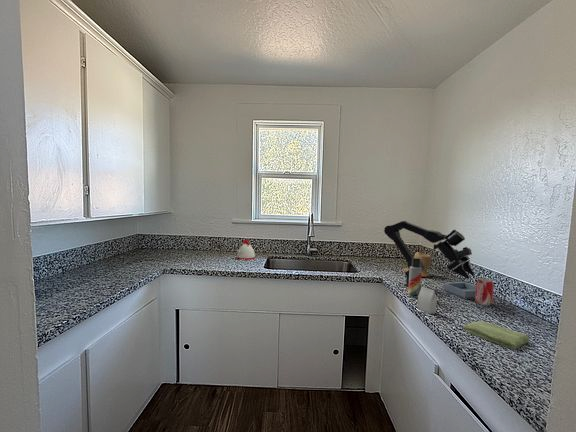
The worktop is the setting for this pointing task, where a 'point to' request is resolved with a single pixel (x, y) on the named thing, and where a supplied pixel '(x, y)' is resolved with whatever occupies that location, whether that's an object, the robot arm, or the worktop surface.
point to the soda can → (484, 291)
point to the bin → (461, 289)
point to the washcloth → (497, 334)
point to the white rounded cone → (246, 251)
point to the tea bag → (427, 300)
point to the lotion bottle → (415, 278)
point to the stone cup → (423, 262)
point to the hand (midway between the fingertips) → (471, 276)
